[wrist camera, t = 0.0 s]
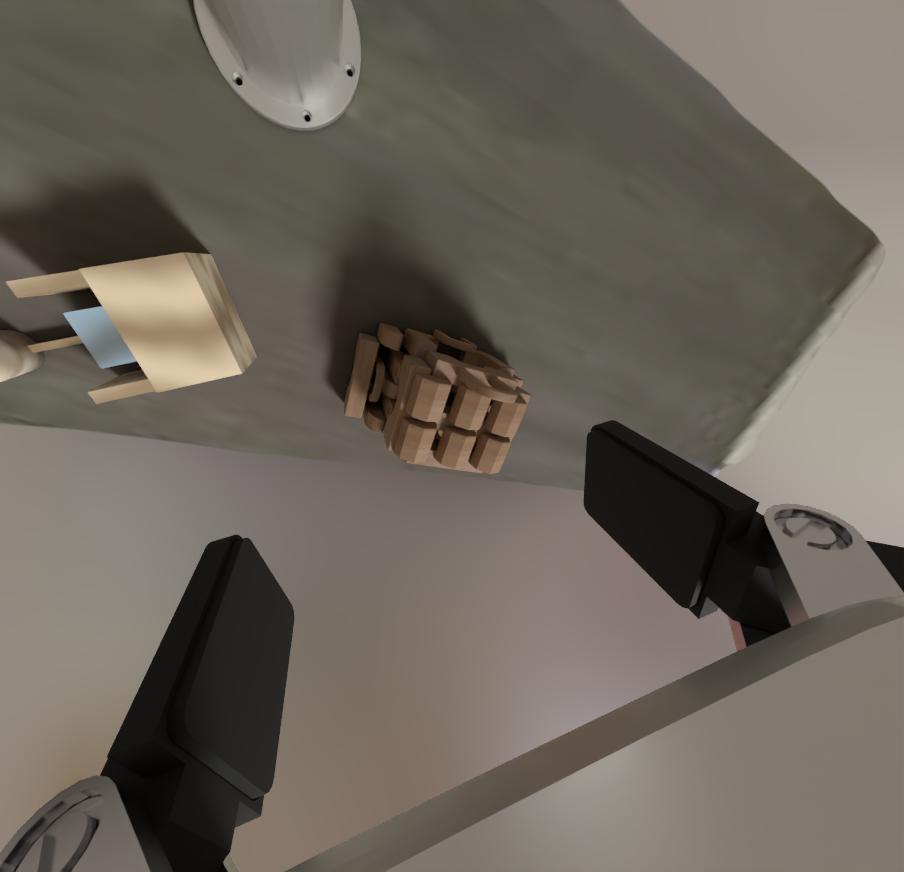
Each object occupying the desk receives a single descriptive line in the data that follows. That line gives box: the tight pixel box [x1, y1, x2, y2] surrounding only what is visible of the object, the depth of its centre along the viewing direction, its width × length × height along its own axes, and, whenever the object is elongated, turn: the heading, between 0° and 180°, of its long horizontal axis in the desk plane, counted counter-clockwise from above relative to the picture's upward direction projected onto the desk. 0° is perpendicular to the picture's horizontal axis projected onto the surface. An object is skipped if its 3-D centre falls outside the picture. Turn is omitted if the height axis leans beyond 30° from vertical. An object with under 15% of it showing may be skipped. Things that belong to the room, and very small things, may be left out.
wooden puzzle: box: [344, 322, 531, 474], centre depth 39 cm, size 22×15×19 cm, turn 71°
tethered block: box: [0, 306, 137, 382], centre depth 31 cm, size 5×18×6 cm, turn 99°
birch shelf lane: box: [6, 252, 257, 404], centre depth 32 cm, size 11×13×7 cm
